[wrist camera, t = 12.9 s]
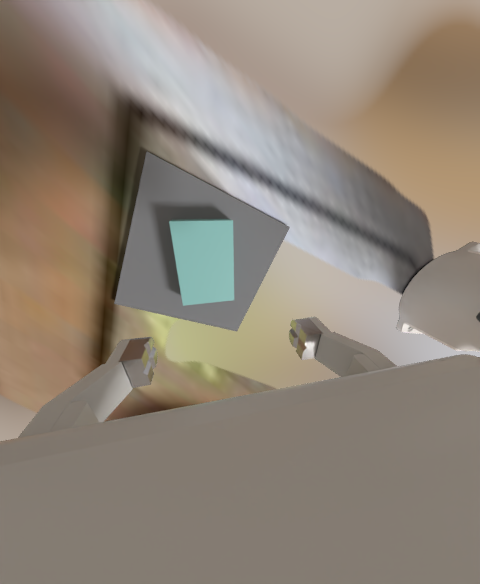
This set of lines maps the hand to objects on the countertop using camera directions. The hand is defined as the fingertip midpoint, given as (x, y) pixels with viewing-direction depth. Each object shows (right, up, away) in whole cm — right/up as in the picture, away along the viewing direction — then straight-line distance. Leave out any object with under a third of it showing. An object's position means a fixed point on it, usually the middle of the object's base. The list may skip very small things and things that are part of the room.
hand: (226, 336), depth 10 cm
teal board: (-3, +2, +11) cm, 12 cm away
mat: (-4, +6, +11) cm, 13 cm away
